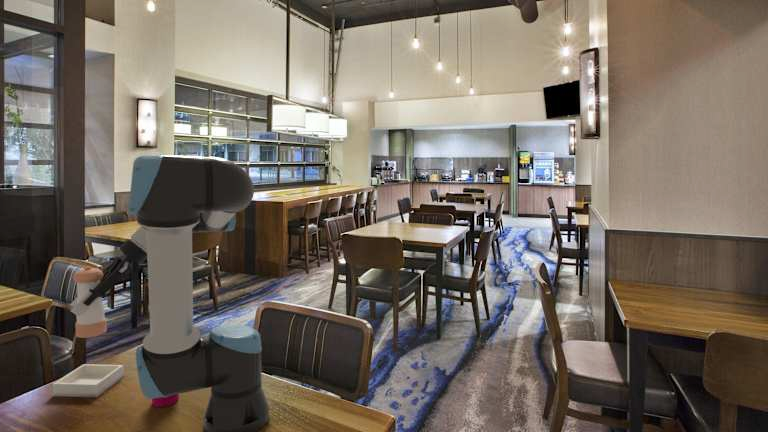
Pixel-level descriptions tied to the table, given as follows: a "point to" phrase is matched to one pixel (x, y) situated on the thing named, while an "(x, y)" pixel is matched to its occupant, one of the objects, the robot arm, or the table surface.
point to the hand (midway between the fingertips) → (74, 310)
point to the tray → (88, 380)
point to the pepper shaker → (94, 316)
